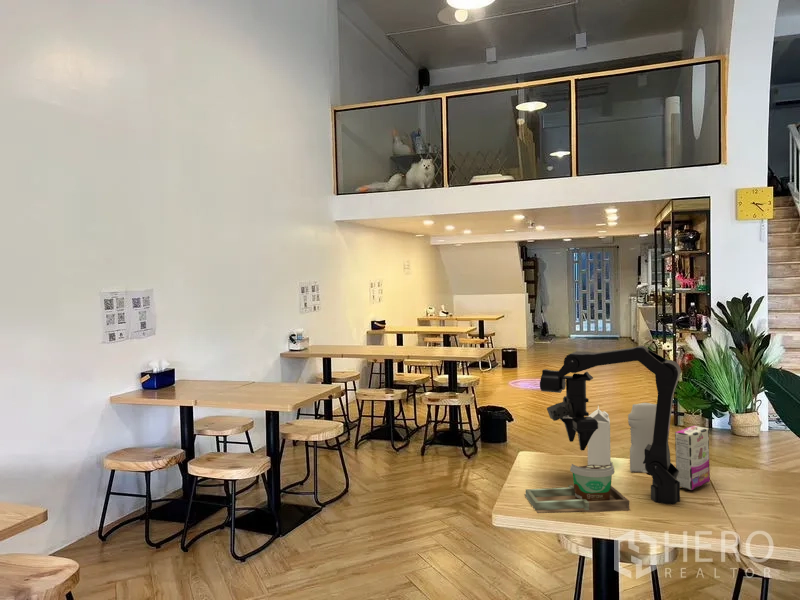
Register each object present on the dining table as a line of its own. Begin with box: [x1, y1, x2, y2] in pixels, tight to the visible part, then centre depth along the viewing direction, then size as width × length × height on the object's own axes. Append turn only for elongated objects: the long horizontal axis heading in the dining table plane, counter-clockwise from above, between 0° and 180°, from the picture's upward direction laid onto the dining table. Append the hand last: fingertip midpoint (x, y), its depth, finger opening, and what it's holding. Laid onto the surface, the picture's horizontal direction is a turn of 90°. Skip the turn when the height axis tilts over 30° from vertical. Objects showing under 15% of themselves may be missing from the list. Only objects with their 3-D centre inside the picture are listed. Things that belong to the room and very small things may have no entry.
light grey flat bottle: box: [627, 402, 657, 474], centre depth 184 cm, size 11×4×22 cm, turn 87°
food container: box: [569, 461, 616, 501], centre depth 158 cm, size 12×6×10 cm, turn 95°
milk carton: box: [587, 405, 612, 465], centre depth 192 cm, size 7×7×19 cm
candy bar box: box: [674, 425, 711, 491], centre depth 172 cm, size 11×5×16 cm, turn 126°
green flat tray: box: [524, 484, 630, 514], centre depth 160 cm, size 25×13×2 cm, turn 93°
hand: (576, 445), depth 173 cm, fingers open, 9 cm apart
